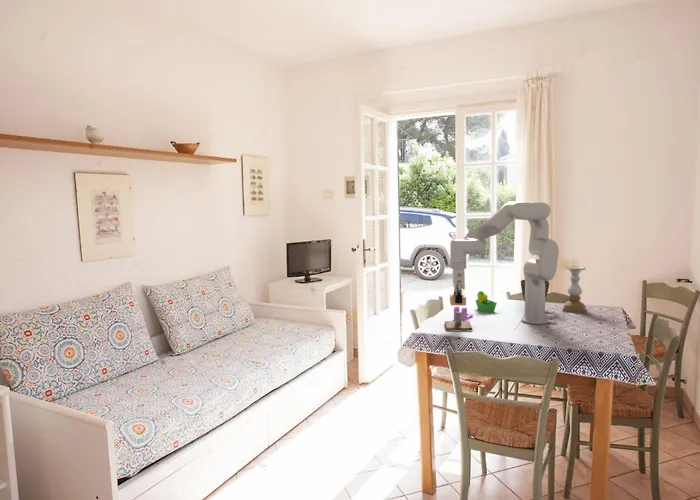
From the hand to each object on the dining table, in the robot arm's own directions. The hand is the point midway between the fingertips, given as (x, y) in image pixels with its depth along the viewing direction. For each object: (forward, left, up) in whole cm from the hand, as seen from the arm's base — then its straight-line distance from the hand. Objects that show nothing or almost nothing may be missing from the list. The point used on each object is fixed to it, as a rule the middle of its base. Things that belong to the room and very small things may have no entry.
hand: (457, 301), depth 237 cm
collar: (0, 0, -1) cm, 1 cm away
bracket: (-5, -19, -13) cm, 24 cm away
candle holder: (-66, -38, -13) cm, 78 cm away
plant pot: (-45, -38, -13) cm, 61 cm away
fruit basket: (-18, -36, -13) cm, 43 cm away
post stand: (0, 0, -13) cm, 13 cm away
